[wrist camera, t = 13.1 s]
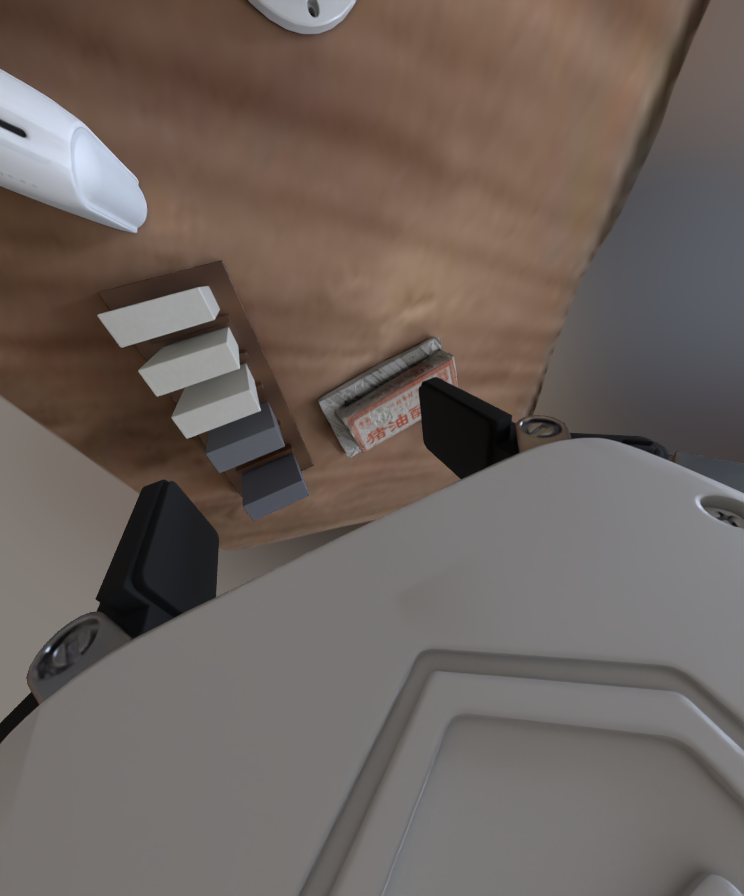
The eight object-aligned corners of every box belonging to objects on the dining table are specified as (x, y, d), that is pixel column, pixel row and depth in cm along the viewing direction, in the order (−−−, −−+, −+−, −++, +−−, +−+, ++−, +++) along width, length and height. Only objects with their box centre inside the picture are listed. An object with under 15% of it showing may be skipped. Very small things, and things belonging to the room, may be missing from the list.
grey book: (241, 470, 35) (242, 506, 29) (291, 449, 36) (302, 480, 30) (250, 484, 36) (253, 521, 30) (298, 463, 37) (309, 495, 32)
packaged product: (456, 338, 33) (468, 406, 39) (433, 332, 37) (447, 395, 43) (324, 412, 31) (357, 472, 37) (314, 398, 35) (345, 454, 41)
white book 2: (163, 346, 26) (136, 370, 19) (228, 326, 27) (226, 342, 20) (176, 367, 27) (156, 397, 20) (238, 346, 28) (240, 368, 21)
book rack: (101, 291, 23) (91, 292, 22) (222, 261, 25) (221, 259, 24) (241, 492, 37) (241, 503, 35) (312, 462, 39) (316, 470, 37)
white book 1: (137, 305, 24) (95, 315, 17) (208, 285, 25) (198, 286, 18) (152, 329, 25) (120, 348, 18) (220, 309, 26) (215, 319, 19)
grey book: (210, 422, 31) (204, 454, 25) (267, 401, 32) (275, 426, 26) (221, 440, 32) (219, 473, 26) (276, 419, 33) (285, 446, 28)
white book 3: (186, 383, 28) (170, 417, 21) (245, 363, 29) (250, 389, 22) (198, 400, 29) (186, 439, 22) (254, 380, 30) (261, 411, 23)
